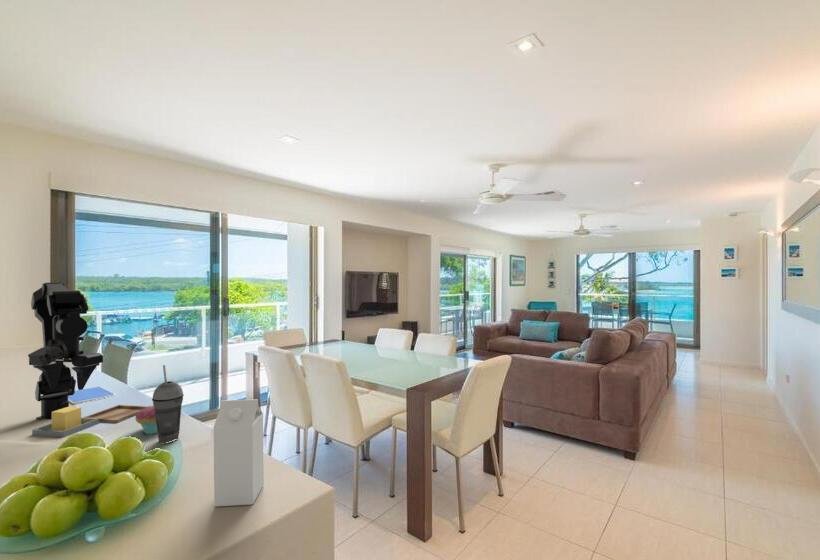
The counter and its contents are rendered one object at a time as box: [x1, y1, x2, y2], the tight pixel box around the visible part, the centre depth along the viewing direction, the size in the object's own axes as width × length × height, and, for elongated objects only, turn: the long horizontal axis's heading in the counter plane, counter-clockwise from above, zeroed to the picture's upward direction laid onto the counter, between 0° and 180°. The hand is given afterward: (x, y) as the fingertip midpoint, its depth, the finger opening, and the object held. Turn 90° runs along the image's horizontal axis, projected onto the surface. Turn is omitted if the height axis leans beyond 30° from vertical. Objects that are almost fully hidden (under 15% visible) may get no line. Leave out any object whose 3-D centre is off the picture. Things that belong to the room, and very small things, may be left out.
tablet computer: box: [68, 386, 116, 405], centre depth 147 cm, size 19×13×1 cm, turn 53°
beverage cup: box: [151, 364, 184, 445], centre depth 105 cm, size 7×7×20 cm
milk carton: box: [213, 398, 265, 507], centre depth 78 cm, size 7×7×19 cm
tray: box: [82, 404, 151, 424], centre depth 124 cm, size 12×12×1 cm
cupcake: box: [134, 405, 158, 435], centre depth 111 cm, size 9×8×12 cm
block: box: [51, 406, 82, 431], centre depth 112 cm, size 4×4×6 cm
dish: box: [31, 417, 100, 438], centre depth 112 cm, size 10×10×2 cm
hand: (67, 389), depth 112 cm, fingers open, 9 cm apart
